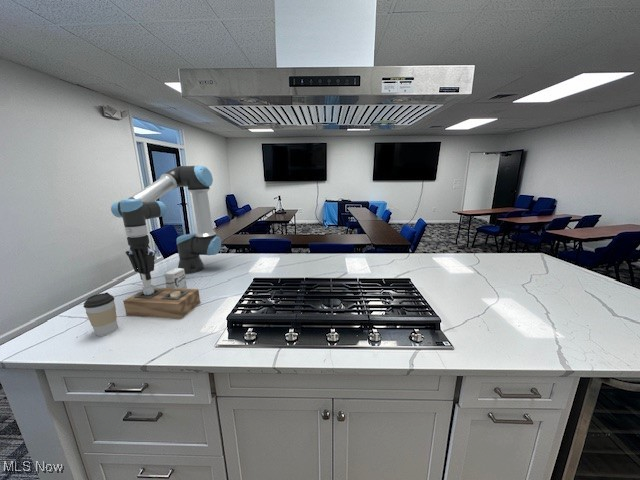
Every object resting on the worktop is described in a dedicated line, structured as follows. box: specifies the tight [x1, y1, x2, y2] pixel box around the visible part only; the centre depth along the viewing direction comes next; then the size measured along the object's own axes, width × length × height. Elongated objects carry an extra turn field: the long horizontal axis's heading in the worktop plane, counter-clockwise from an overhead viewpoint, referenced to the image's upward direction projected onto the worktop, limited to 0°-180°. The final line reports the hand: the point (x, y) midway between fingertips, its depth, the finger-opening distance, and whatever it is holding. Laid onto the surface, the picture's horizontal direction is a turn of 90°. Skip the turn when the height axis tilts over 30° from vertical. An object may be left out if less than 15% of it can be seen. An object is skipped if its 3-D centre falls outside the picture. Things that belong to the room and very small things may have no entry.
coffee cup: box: [83, 292, 119, 337], centre depth 97 cm, size 9×9×15 cm
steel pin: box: [142, 284, 155, 296], centre depth 113 cm, size 4×4×7 cm
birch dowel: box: [170, 291, 181, 297], centre depth 112 cm, size 4×4×7 cm
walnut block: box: [122, 286, 201, 319], centre depth 113 cm, size 14×26×7 cm, turn 83°
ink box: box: [164, 267, 188, 289], centre depth 130 cm, size 9×5×12 cm, turn 168°
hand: (147, 286), depth 112 cm, fingers closed
